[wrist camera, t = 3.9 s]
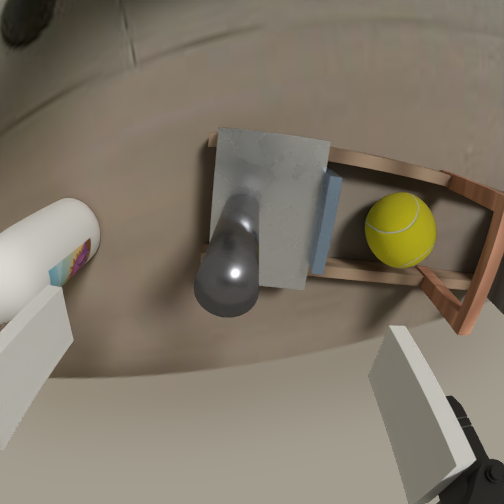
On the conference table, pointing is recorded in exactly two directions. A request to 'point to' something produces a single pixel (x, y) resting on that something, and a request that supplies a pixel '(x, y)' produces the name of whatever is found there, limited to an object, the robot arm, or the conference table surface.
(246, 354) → the conference table surface
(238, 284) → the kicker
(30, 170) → the conference table surface
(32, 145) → the conference table surface
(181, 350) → the conference table surface
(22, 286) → the milk bottle
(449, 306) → the lane
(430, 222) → the tennis ball
